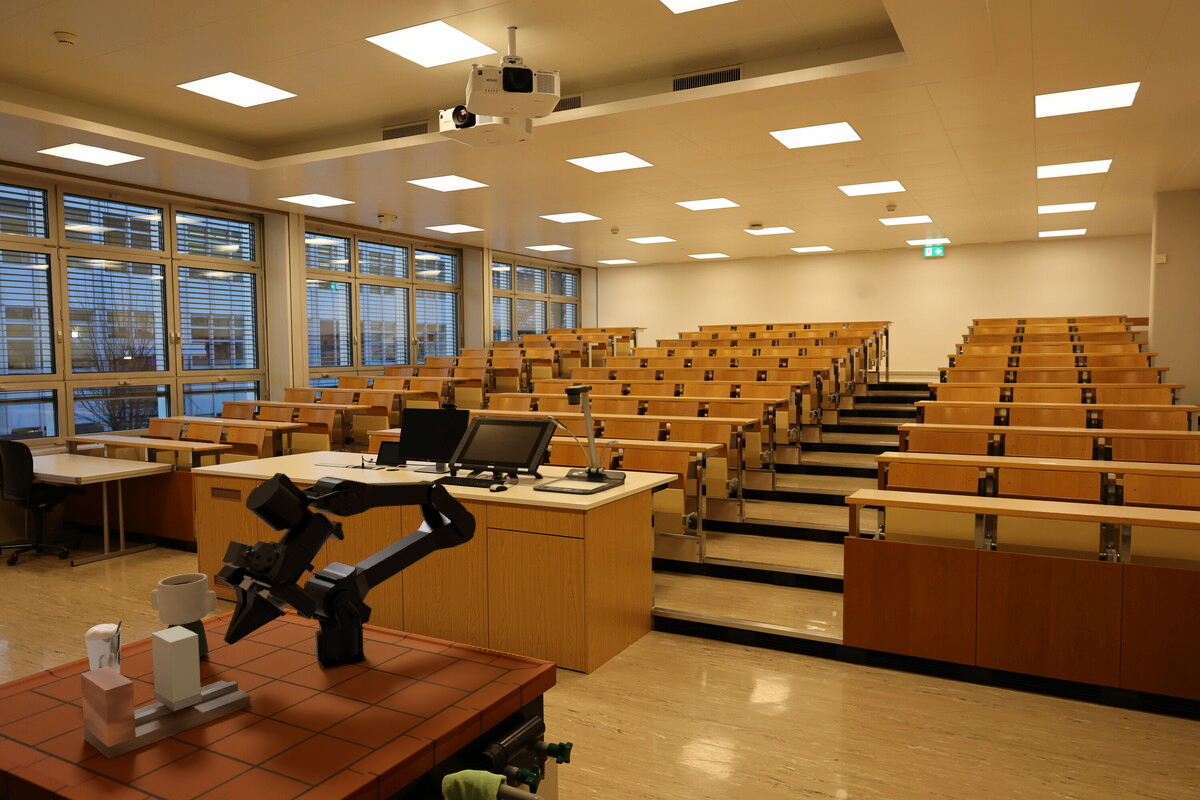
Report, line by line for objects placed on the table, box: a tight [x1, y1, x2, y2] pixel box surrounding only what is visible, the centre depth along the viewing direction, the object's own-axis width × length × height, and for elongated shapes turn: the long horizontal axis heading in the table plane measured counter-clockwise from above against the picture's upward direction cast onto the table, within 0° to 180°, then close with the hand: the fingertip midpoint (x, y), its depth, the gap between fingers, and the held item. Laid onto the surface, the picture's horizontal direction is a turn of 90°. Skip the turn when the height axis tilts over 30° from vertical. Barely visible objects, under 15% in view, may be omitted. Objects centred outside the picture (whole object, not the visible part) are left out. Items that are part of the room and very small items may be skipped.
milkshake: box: [84, 620, 123, 674], centre depth 113 cm, size 5×5×10 cm
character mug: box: [150, 572, 218, 658], centre depth 123 cm, size 11×7×13 cm, turn 84°
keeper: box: [151, 626, 202, 711], centre depth 103 cm, size 4×6×9 cm, turn 52°
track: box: [80, 666, 251, 760], centre depth 102 cm, size 18×8×8 cm, turn 142°
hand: (227, 642), depth 108 cm, fingers closed
